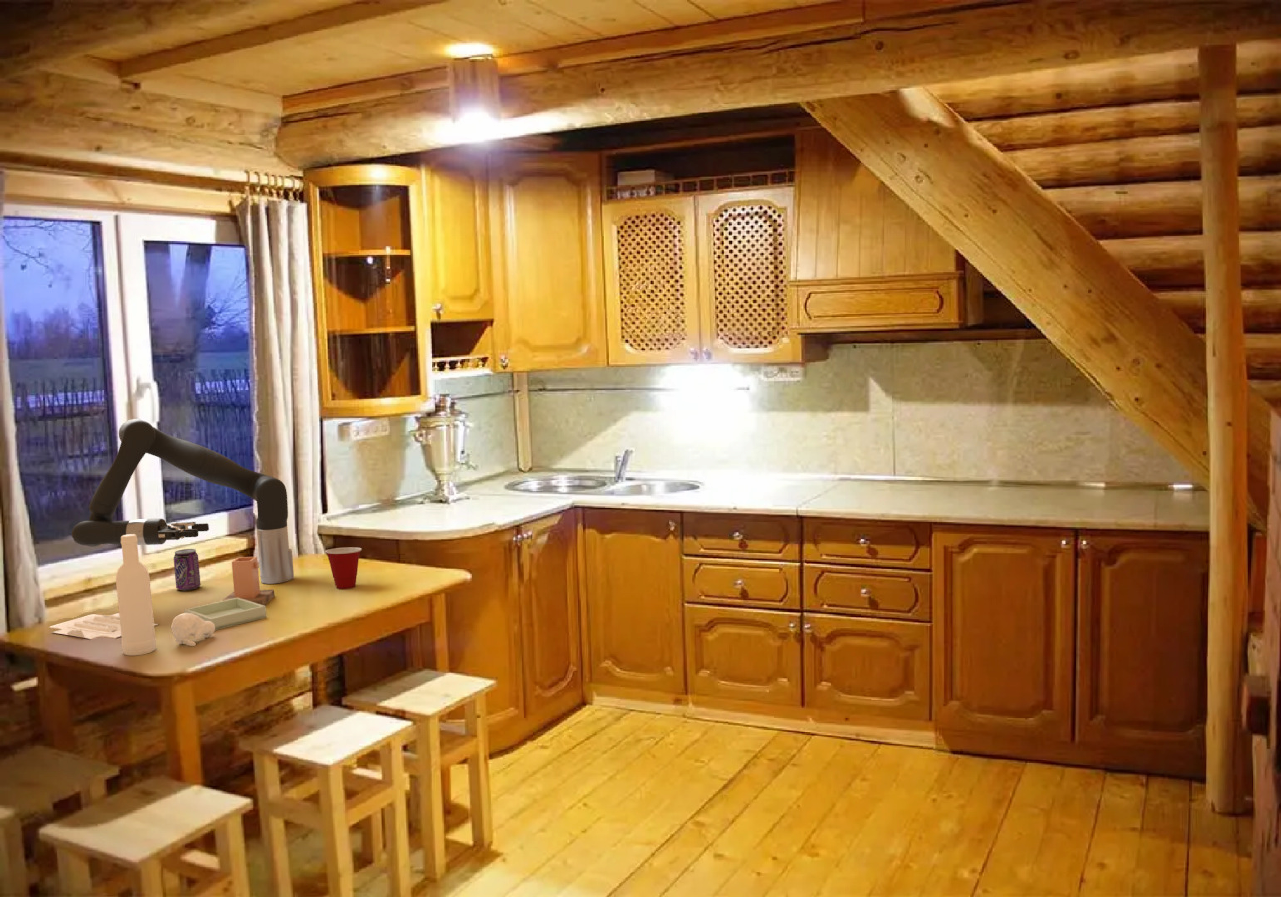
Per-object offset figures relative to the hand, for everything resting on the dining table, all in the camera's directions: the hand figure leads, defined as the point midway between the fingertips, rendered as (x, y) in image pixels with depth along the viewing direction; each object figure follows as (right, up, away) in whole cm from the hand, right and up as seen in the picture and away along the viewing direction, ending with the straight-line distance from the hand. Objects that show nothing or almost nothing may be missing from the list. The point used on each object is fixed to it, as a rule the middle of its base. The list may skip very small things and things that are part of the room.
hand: (203, 530), depth 327 cm
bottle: (0, -28, -41) cm, 50 cm away
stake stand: (+12, -22, +3) cm, 25 cm away
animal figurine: (+12, -27, -35) cm, 45 cm away
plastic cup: (+37, -19, +18) cm, 45 cm away
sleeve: (+12, -20, +3) cm, 23 cm away
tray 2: (-21, -26, -17) cm, 37 cm away
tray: (+12, -24, -14) cm, 30 cm away
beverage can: (-13, -20, +23) cm, 33 cm away
